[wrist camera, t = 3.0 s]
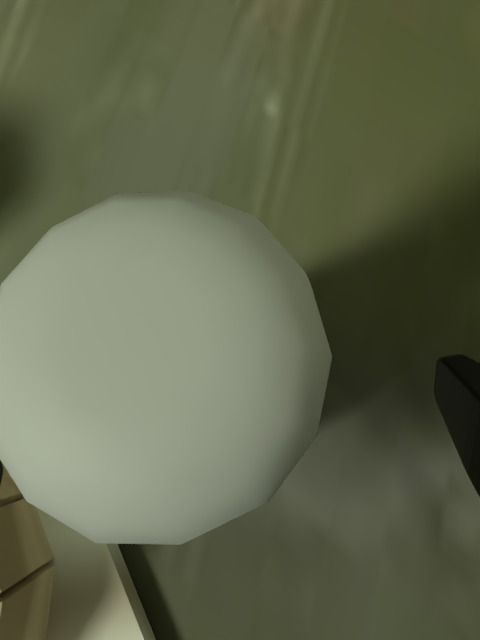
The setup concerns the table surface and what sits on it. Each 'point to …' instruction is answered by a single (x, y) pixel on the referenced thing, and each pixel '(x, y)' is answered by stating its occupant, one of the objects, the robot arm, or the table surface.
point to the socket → (61, 579)
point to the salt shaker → (157, 368)
